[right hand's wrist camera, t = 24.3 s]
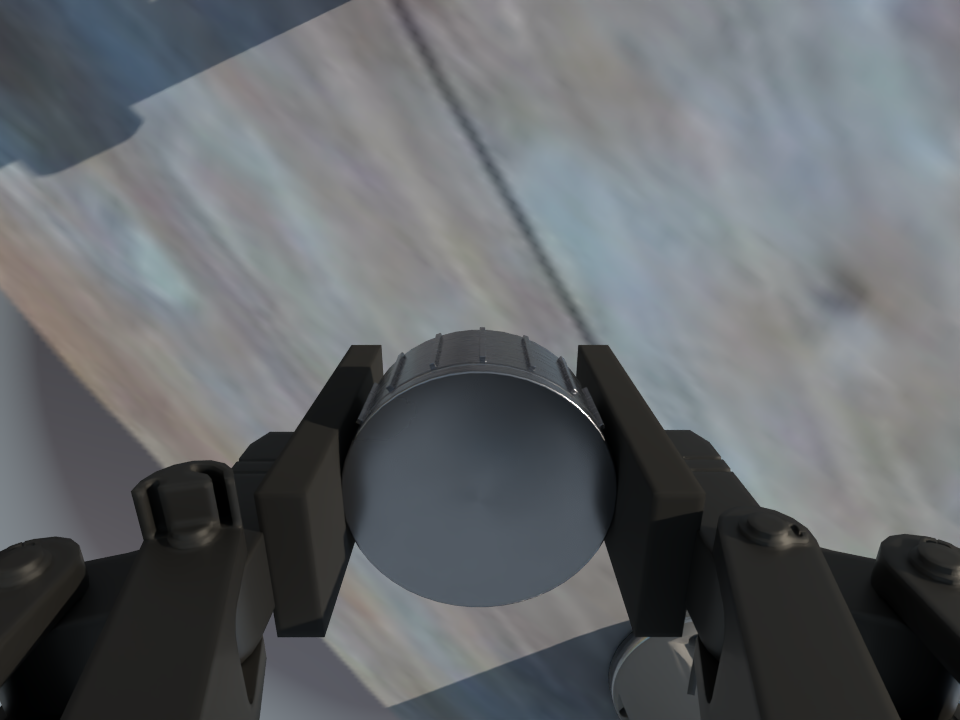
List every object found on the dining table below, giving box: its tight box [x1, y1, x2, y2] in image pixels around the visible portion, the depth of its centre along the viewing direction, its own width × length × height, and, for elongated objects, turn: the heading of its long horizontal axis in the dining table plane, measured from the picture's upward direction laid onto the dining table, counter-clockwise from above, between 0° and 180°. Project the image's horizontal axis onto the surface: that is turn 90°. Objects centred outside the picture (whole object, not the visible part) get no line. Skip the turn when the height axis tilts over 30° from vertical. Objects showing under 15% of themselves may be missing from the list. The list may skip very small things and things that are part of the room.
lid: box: [341, 327, 618, 607], centre depth 11 cm, size 5×5×2 cm
